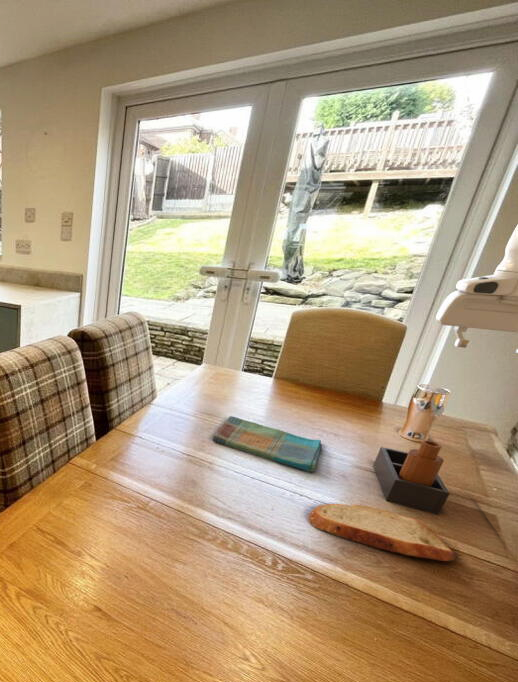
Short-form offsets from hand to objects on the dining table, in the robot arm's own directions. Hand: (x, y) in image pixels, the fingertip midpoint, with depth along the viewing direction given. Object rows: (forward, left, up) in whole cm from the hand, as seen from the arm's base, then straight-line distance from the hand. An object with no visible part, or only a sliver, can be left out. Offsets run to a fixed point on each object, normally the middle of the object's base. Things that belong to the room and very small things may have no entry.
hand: (490, 350), depth 86 cm
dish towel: (+35, +9, -31) cm, 48 cm away
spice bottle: (+8, +18, -30) cm, 36 cm away
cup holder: (+8, +14, -31) cm, 35 cm away
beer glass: (0, -19, -31) cm, 37 cm away
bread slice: (+16, +37, -31) cm, 51 cm away
